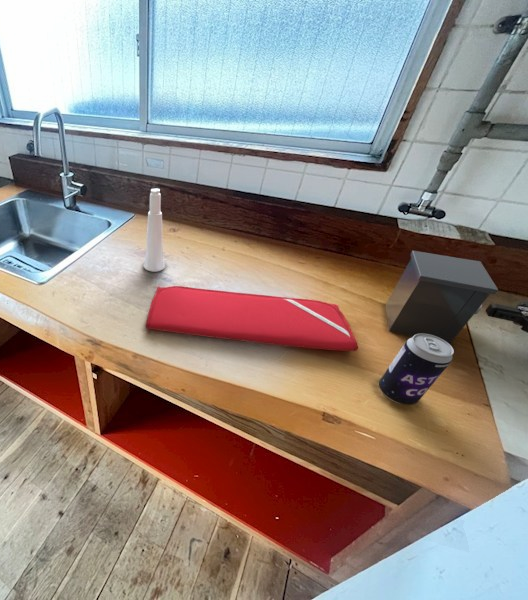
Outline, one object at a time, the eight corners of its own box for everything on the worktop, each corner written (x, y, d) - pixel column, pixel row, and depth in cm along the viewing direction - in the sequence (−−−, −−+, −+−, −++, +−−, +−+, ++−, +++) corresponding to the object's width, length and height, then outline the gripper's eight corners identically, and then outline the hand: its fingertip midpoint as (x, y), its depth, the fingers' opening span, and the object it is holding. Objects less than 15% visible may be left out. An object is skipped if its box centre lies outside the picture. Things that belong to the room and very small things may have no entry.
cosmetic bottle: (139, 265, 93) (138, 189, 80) (156, 259, 96) (157, 184, 82) (152, 274, 89) (152, 195, 76) (169, 267, 92) (172, 190, 78)
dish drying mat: (157, 290, 82) (157, 278, 80) (333, 310, 74) (338, 297, 72) (145, 331, 70) (145, 318, 68) (353, 360, 62) (361, 346, 59)
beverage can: (382, 403, 54) (418, 354, 47) (372, 377, 58) (403, 328, 51) (421, 411, 53) (465, 361, 45) (409, 384, 57) (446, 335, 50)
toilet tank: (441, 316, 71) (480, 261, 62) (452, 347, 63) (498, 290, 55) (382, 303, 75) (412, 250, 67) (386, 331, 68) (420, 275, 59)
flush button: (471, 308, 64) (480, 297, 62) (475, 316, 62) (484, 305, 60) (453, 305, 65) (461, 294, 64) (456, 312, 63) (465, 301, 62)
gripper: (620, 298, 57) (490, 276, 64) (672, 346, 48) (514, 313, 55) (585, 330, 61) (468, 305, 68) (627, 379, 52) (486, 345, 59)
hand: (489, 309), depth 62 cm, fingers closed
